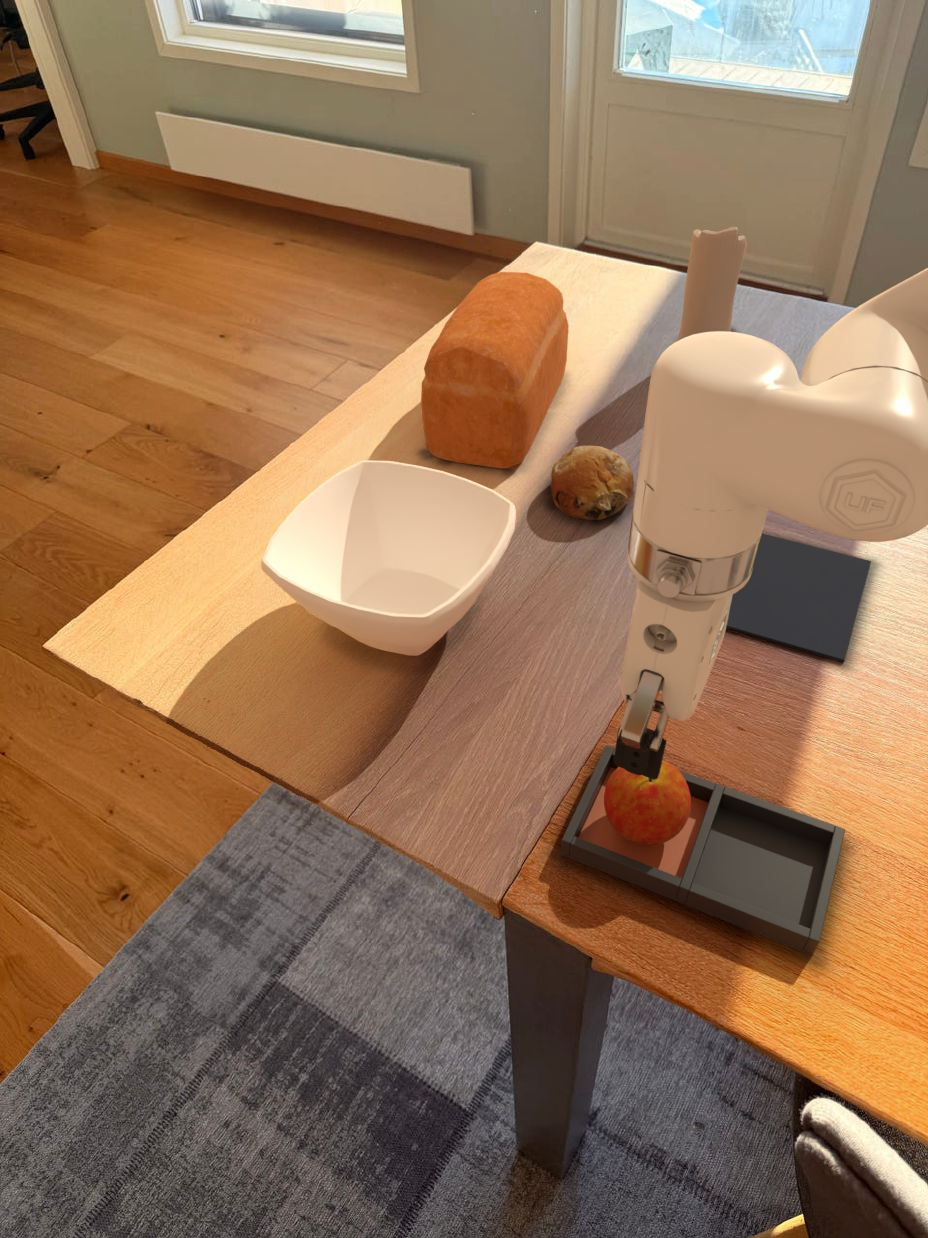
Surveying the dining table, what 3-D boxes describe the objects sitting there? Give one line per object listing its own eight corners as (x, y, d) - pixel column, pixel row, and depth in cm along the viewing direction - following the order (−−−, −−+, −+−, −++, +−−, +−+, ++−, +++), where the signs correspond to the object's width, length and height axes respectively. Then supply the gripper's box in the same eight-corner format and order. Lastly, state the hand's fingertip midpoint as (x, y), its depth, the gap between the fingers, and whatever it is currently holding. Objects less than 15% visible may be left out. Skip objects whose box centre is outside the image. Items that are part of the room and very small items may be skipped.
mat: (870, 563, 99) (871, 560, 98) (843, 662, 89) (844, 660, 88) (690, 517, 106) (690, 515, 105) (646, 605, 96) (647, 602, 95)
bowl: (368, 527, 107) (355, 444, 98) (540, 581, 99) (542, 496, 91) (254, 652, 93) (229, 567, 85) (443, 726, 85) (435, 641, 77)
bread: (571, 370, 130) (576, 261, 119) (522, 475, 113) (523, 359, 102) (479, 358, 134) (476, 252, 122) (418, 458, 116) (408, 345, 105)
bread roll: (632, 510, 113) (642, 445, 110) (624, 528, 103) (634, 459, 100) (554, 499, 115) (561, 435, 112) (539, 516, 105) (547, 448, 103)
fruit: (695, 854, 74) (710, 799, 68) (612, 867, 74) (620, 812, 68) (670, 784, 79) (682, 727, 73) (592, 795, 78) (598, 739, 73)
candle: (742, 332, 136) (769, 194, 122) (717, 376, 127) (743, 233, 113) (695, 323, 138) (716, 187, 124) (668, 366, 130) (686, 225, 116)
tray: (838, 843, 75) (845, 828, 73) (812, 956, 68) (819, 942, 67) (604, 760, 82) (606, 744, 80) (560, 854, 75) (561, 840, 73)
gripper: (715, 657, 48) (672, 832, 60) (787, 478, 59) (738, 656, 71) (582, 615, 50) (566, 791, 62) (674, 450, 61) (645, 628, 73)
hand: (657, 720), depth 66 cm, fingers open, 9 cm apart
